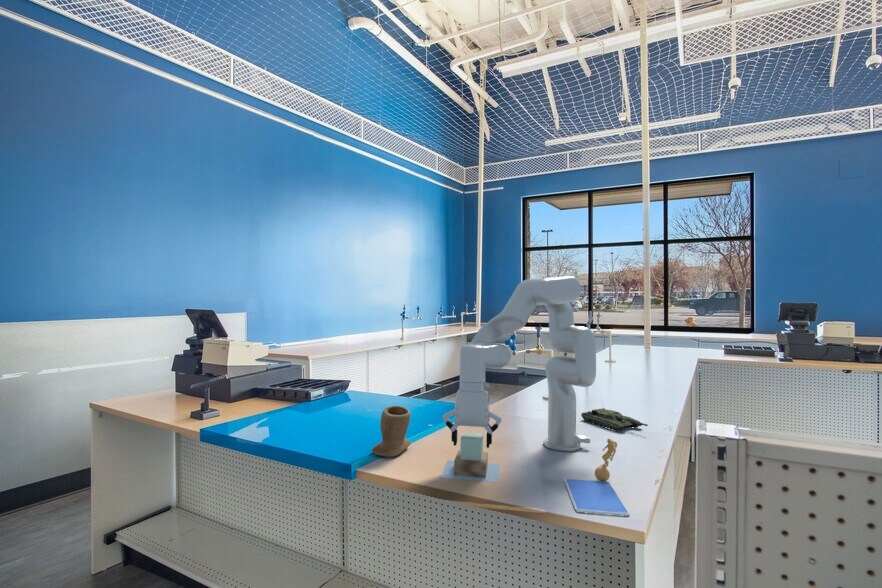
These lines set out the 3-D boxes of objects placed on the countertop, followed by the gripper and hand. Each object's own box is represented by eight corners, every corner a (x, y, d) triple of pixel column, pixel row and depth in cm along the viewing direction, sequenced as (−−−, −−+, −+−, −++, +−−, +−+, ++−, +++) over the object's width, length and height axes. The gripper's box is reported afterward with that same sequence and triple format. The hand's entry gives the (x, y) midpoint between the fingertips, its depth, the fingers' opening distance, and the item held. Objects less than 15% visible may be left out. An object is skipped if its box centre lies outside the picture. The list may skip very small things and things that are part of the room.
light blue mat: (499, 466, 132) (499, 463, 132) (497, 485, 118) (497, 482, 118) (447, 462, 134) (447, 459, 134) (440, 480, 121) (440, 477, 121)
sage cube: (482, 453, 129) (483, 433, 129) (481, 461, 123) (481, 439, 123) (462, 452, 130) (463, 432, 130) (460, 459, 124) (460, 438, 124)
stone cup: (399, 462, 134) (400, 413, 135) (366, 456, 139) (367, 409, 139) (420, 447, 148) (420, 403, 149) (389, 442, 153) (390, 400, 153)
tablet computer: (563, 482, 122) (563, 477, 122) (610, 485, 121) (610, 480, 121) (575, 515, 103) (575, 509, 103) (630, 519, 101) (630, 513, 101)
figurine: (591, 474, 126) (591, 433, 127) (612, 476, 126) (613, 434, 126) (598, 486, 118) (598, 442, 118) (621, 488, 117) (621, 443, 118)
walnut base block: (487, 465, 130) (487, 452, 130) (485, 477, 121) (485, 463, 121) (458, 463, 131) (458, 450, 132) (453, 475, 123) (454, 460, 123)
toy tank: (602, 417, 193) (602, 394, 193) (659, 434, 168) (659, 408, 168) (579, 420, 187) (579, 397, 187) (634, 439, 162) (634, 412, 162)
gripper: (502, 385, 129) (501, 443, 129) (445, 383, 132) (444, 439, 132) (501, 390, 122) (500, 451, 121) (441, 387, 125) (440, 447, 124)
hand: (471, 445), depth 126 cm, fingers open, 9 cm apart
